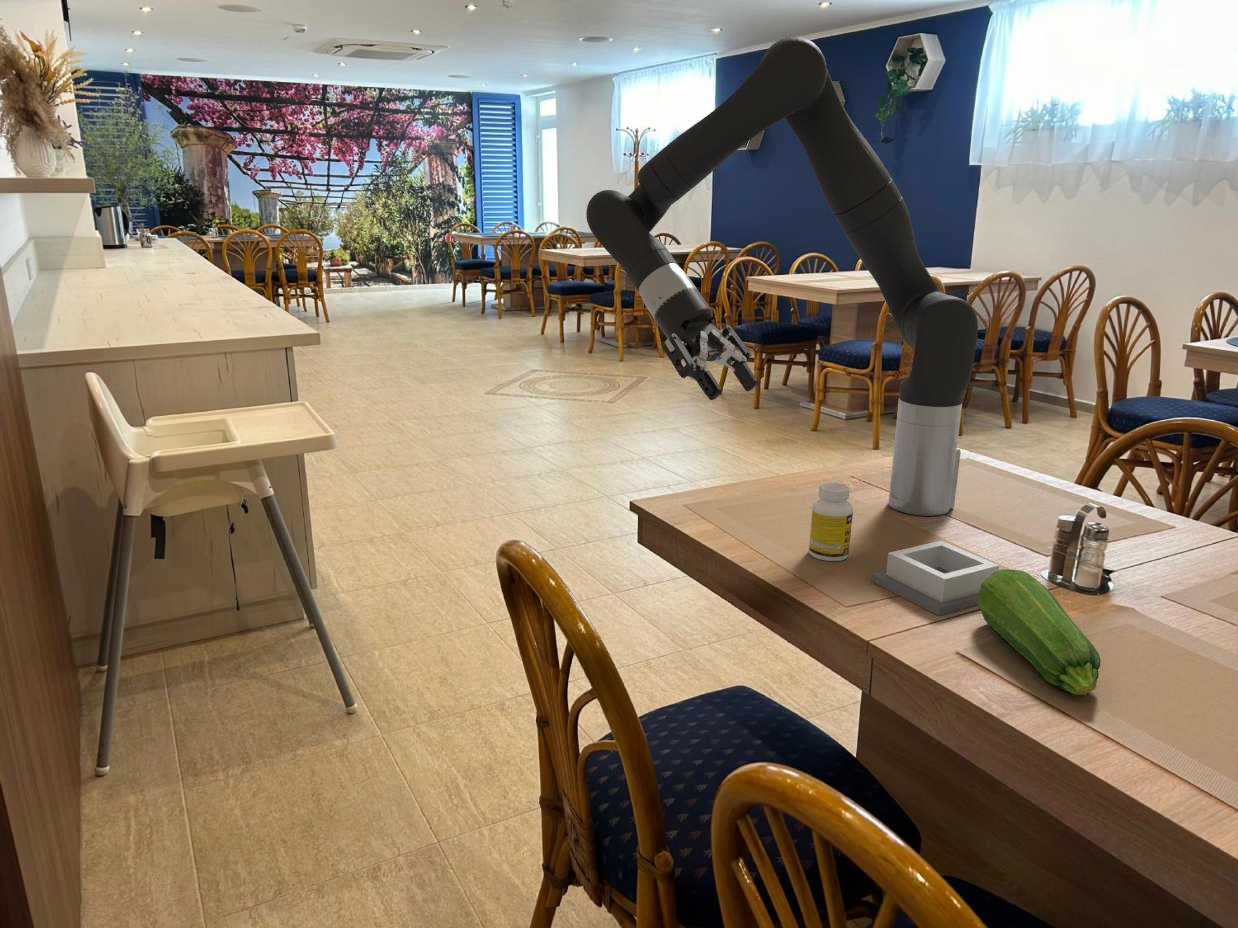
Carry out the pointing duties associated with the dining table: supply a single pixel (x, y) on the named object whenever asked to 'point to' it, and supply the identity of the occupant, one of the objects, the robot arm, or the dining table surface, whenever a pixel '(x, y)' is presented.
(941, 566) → the board
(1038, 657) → the vegetable
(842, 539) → the supplement bottle
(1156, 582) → the dining table surface
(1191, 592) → the dining table surface
